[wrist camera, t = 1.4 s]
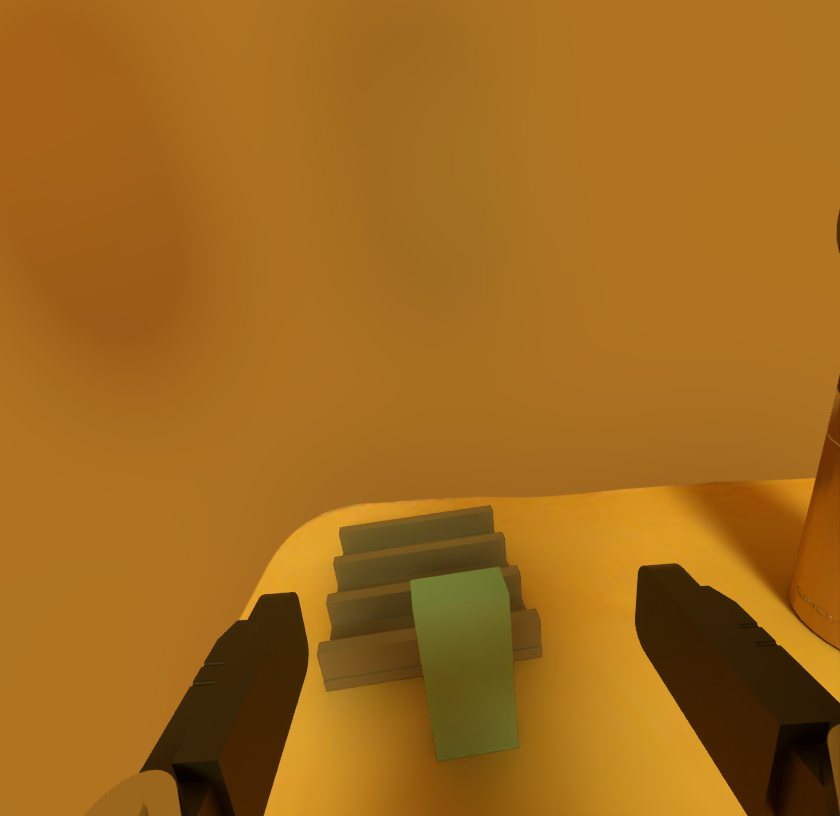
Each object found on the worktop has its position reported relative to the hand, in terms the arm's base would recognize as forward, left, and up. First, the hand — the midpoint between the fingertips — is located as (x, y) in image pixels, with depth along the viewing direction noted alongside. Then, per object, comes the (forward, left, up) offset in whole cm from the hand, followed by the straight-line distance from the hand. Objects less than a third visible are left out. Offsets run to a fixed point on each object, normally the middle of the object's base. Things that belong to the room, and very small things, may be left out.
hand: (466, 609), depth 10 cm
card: (-1, -10, -21) cm, 23 cm away
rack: (+1, -22, -21) cm, 30 cm away
